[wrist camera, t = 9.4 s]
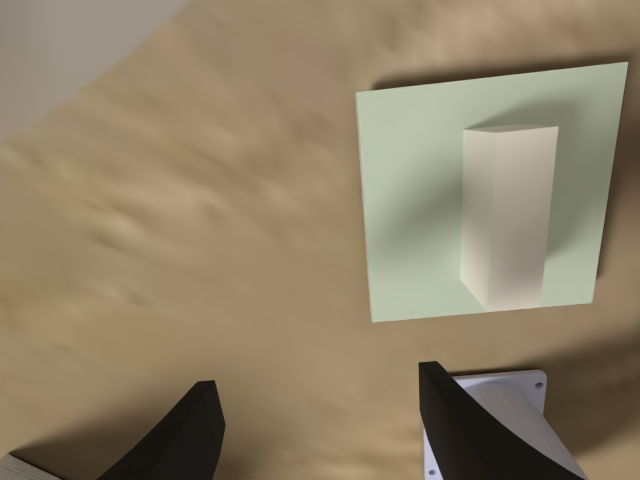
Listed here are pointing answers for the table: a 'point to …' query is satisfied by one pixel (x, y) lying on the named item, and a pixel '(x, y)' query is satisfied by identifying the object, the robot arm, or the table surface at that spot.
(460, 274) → the lid
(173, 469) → the robot arm
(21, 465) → the supplement box
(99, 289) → the table surface
